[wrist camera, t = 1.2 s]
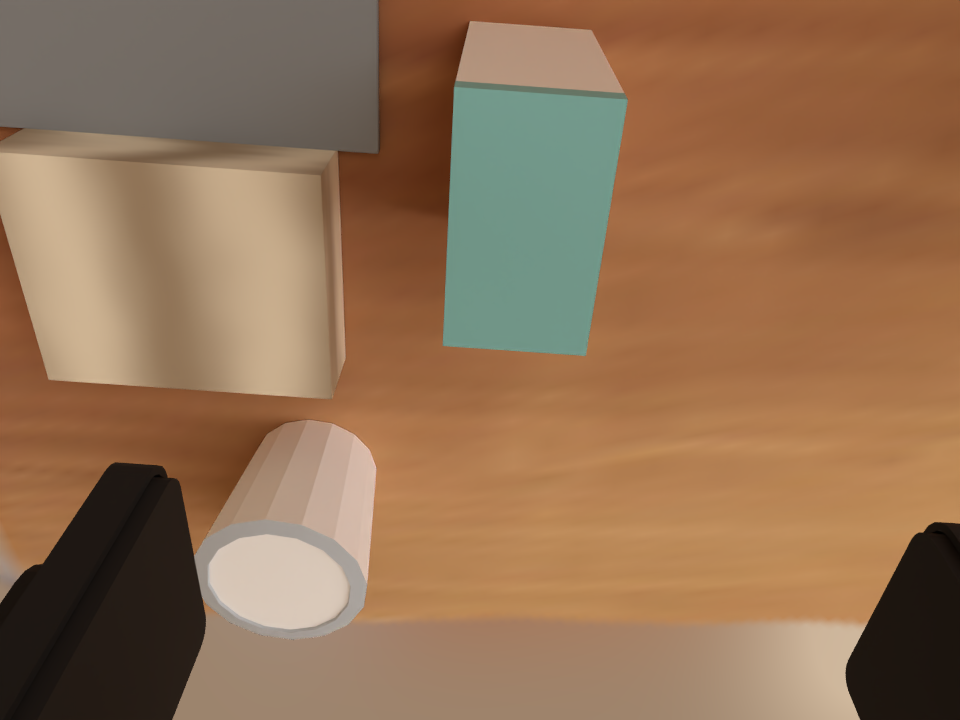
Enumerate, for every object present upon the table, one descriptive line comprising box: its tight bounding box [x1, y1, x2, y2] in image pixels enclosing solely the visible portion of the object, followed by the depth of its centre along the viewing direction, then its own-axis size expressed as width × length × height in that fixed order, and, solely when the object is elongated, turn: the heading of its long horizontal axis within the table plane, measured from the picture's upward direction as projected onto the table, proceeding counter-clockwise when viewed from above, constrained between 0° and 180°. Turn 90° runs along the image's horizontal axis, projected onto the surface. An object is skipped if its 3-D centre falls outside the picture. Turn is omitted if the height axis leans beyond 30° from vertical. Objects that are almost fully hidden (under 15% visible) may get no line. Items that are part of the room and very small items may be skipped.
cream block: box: [443, 21, 628, 356], centre depth 23 cm, size 4×7×9 cm, turn 176°
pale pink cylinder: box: [194, 420, 376, 640], centre depth 33 cm, size 7×7×7 cm
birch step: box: [0, 128, 346, 399], centre depth 29 cm, size 11×9×3 cm
